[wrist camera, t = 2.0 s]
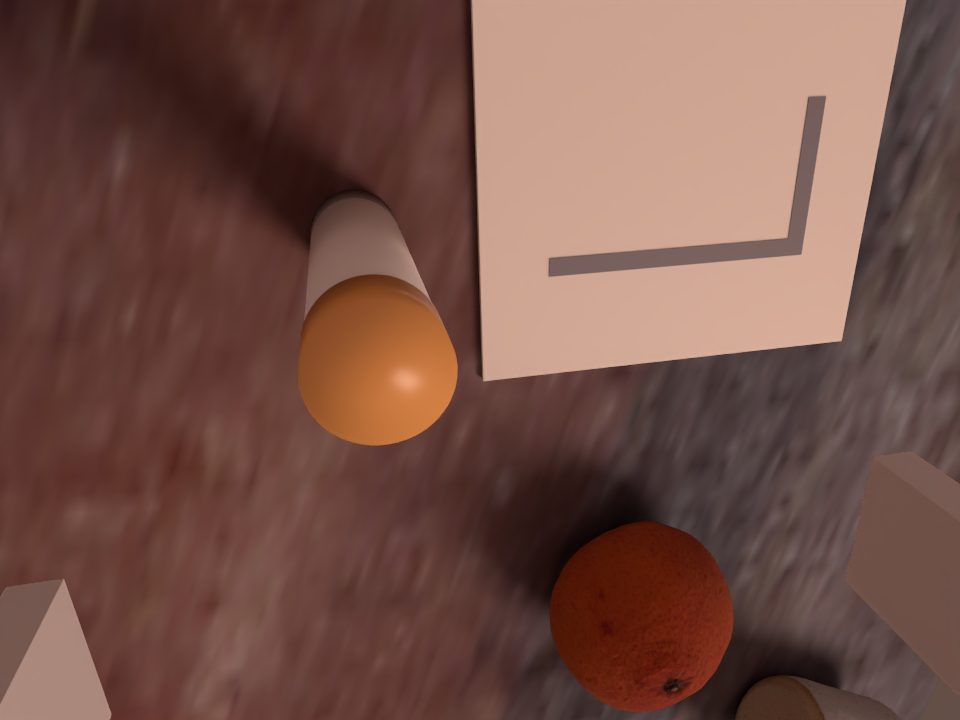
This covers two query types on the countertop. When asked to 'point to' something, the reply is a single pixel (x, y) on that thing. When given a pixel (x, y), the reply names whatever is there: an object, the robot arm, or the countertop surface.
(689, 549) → the fruit
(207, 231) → the countertop surface
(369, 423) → the marker
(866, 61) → the paper
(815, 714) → the ceramic mug
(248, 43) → the countertop surface
